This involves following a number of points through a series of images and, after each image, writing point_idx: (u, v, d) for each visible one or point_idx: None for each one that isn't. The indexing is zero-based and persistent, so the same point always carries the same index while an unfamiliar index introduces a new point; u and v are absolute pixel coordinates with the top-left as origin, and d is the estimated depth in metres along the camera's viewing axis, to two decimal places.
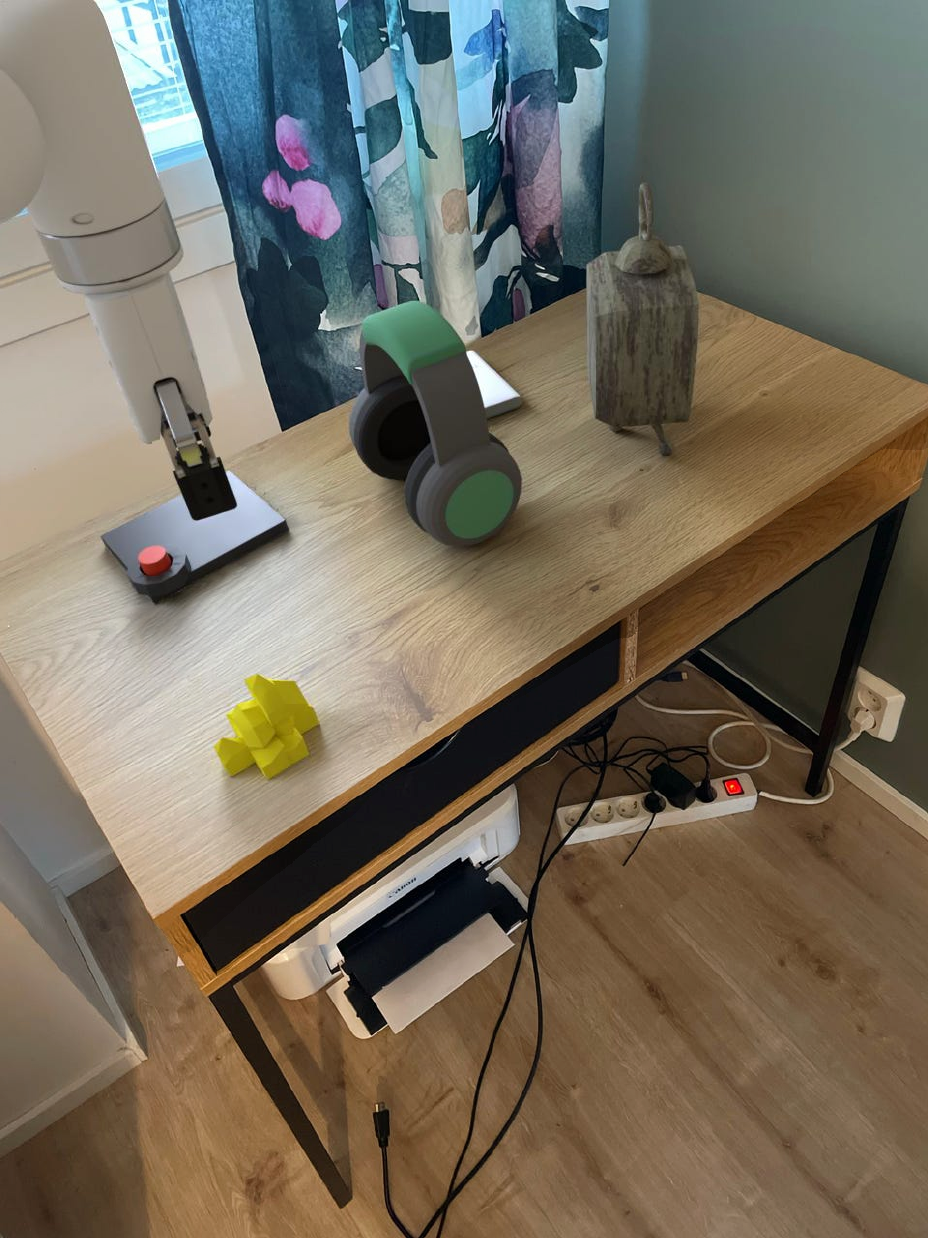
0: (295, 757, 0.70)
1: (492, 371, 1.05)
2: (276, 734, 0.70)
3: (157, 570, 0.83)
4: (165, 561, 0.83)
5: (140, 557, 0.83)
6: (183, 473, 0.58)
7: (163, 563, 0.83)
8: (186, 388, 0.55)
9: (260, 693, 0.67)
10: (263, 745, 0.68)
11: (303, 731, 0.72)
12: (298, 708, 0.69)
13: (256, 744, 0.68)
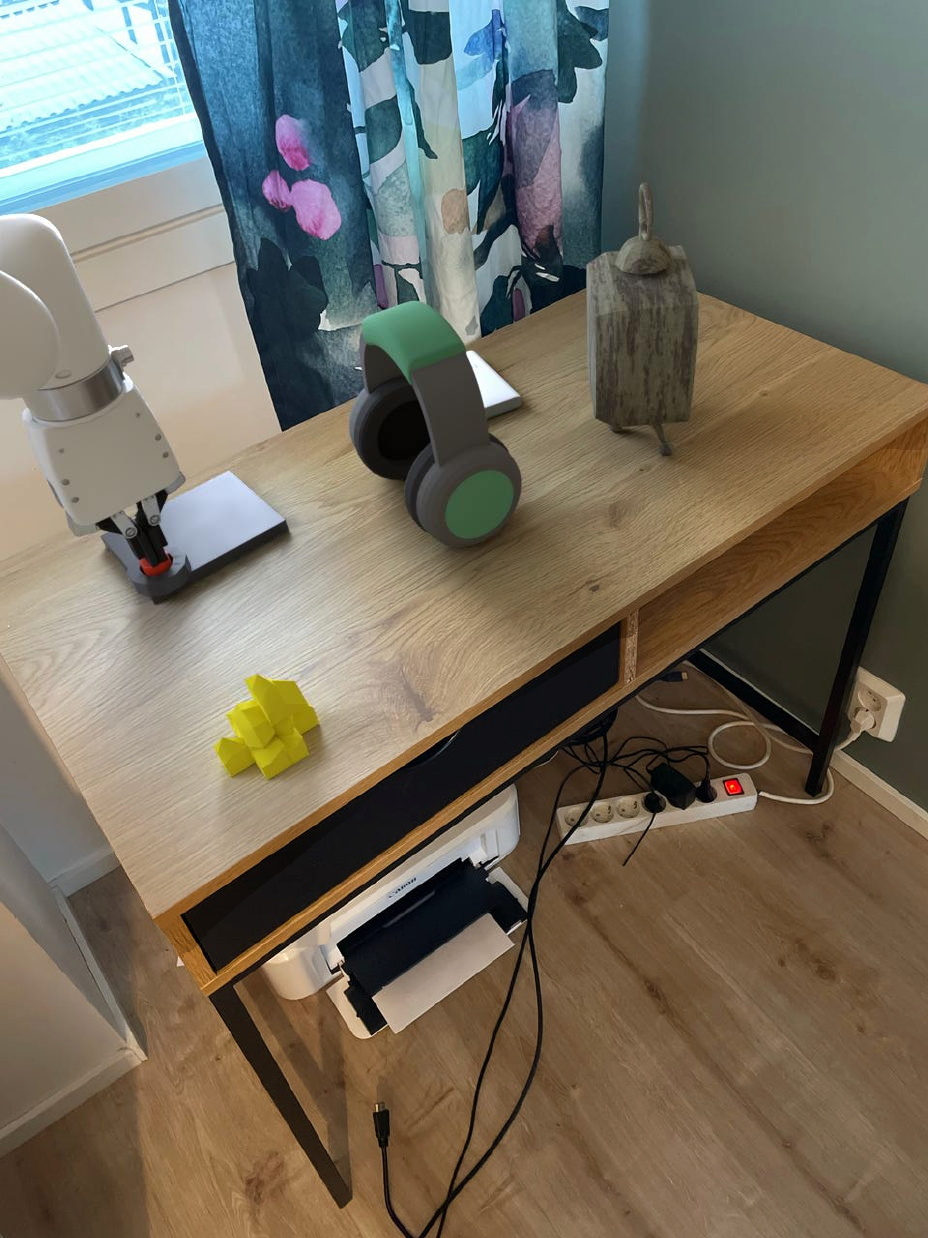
0: (295, 757, 0.70)
1: (492, 371, 1.05)
2: (276, 734, 0.70)
3: None
4: (167, 565, 0.84)
5: (142, 561, 0.83)
6: None
7: (165, 566, 0.83)
8: (58, 496, 0.73)
9: (260, 693, 0.67)
10: (263, 745, 0.68)
11: (303, 731, 0.72)
12: (298, 708, 0.69)
13: (256, 744, 0.68)
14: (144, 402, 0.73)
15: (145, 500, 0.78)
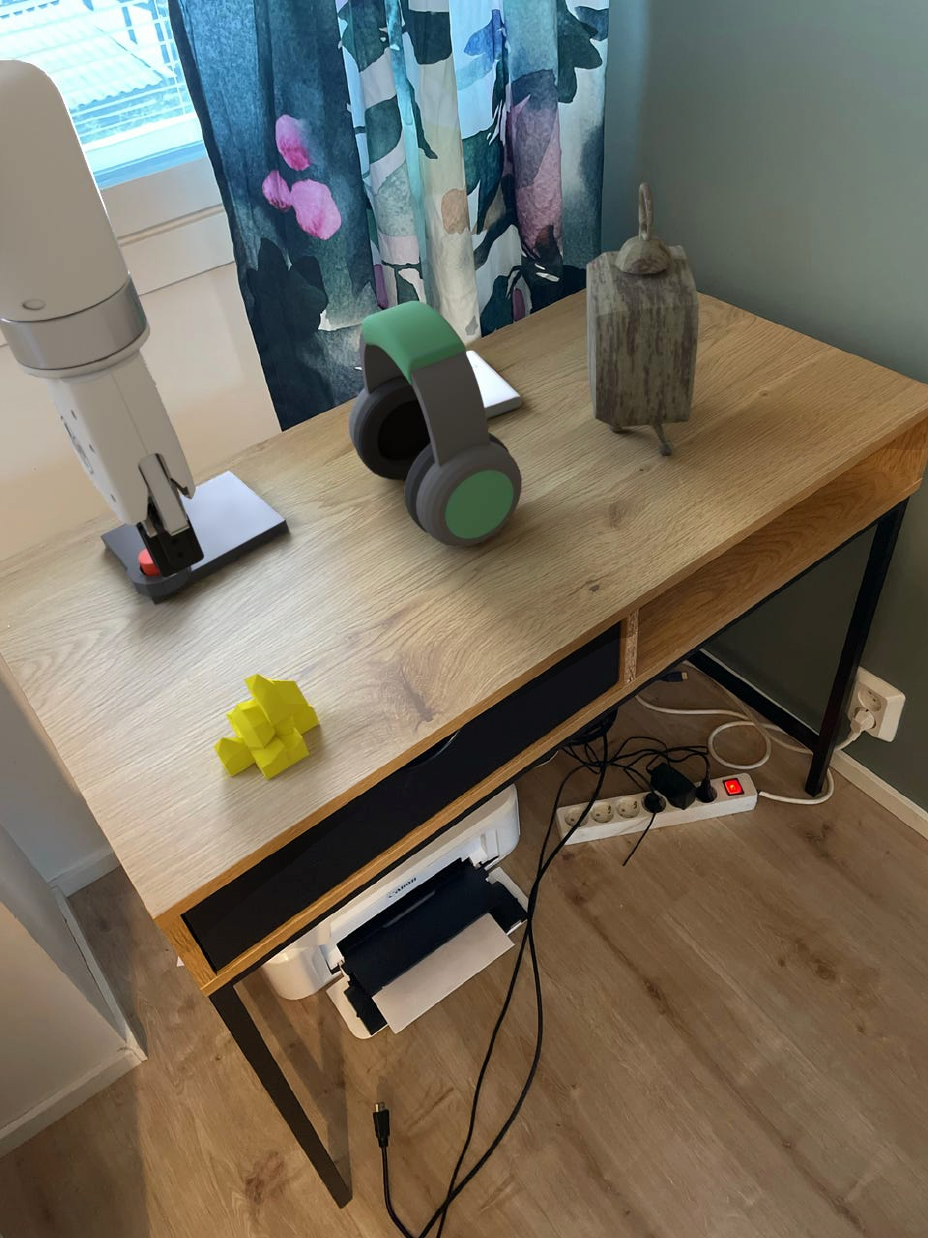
0: (295, 757, 0.70)
1: (492, 371, 1.05)
2: (276, 734, 0.70)
3: (157, 570, 0.83)
4: None
5: (140, 557, 0.83)
6: (155, 532, 0.59)
7: None
8: (171, 462, 0.53)
9: (260, 693, 0.67)
10: (263, 745, 0.68)
11: (303, 731, 0.72)
12: (298, 708, 0.69)
13: (256, 744, 0.68)
14: None
15: None
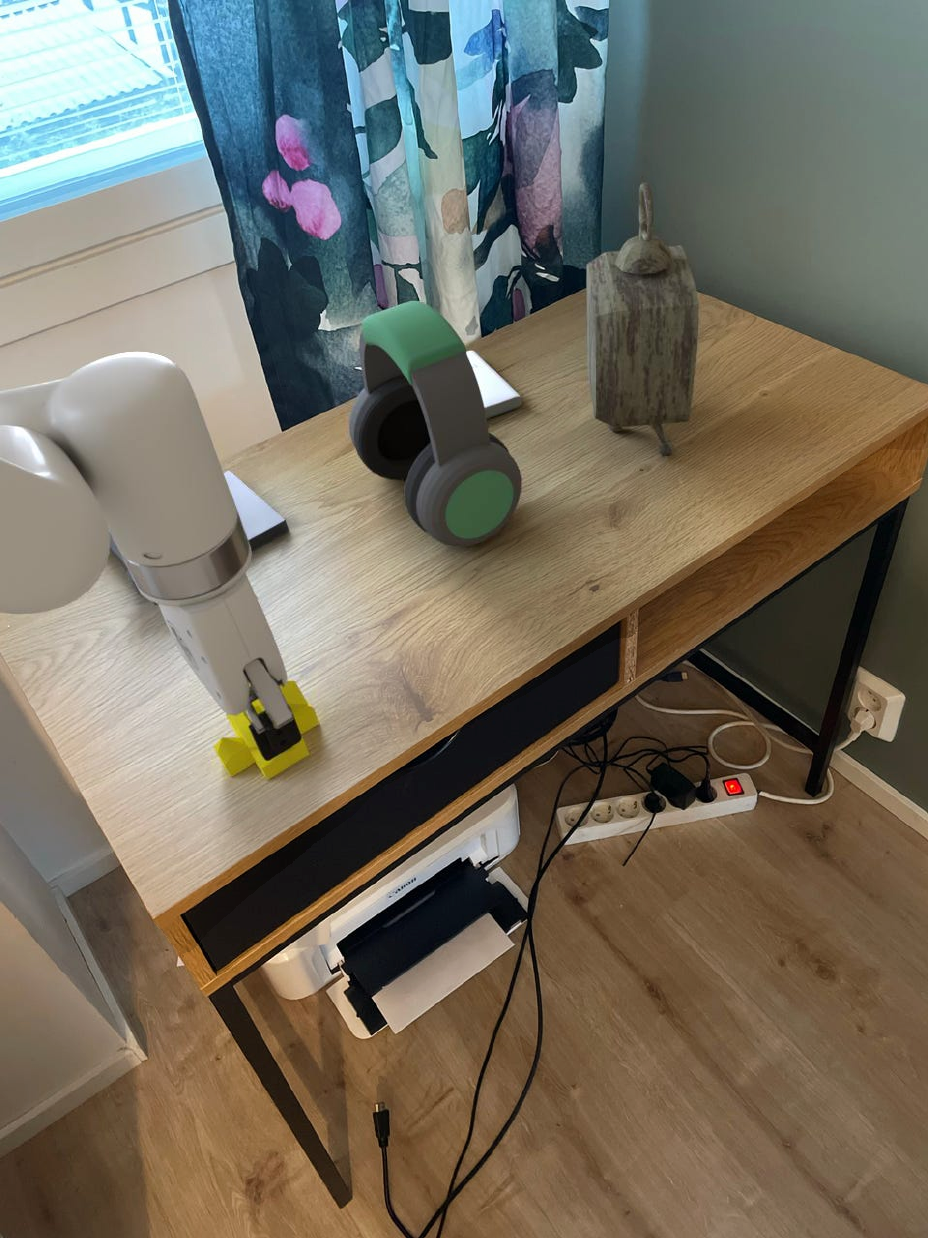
0: (295, 757, 0.70)
1: (492, 371, 1.05)
2: None
3: None
4: None
5: None
6: (264, 729, 0.63)
7: None
8: (270, 663, 0.60)
9: None
10: None
11: (303, 731, 0.72)
12: (298, 708, 0.69)
13: (256, 744, 0.68)
14: None
15: None
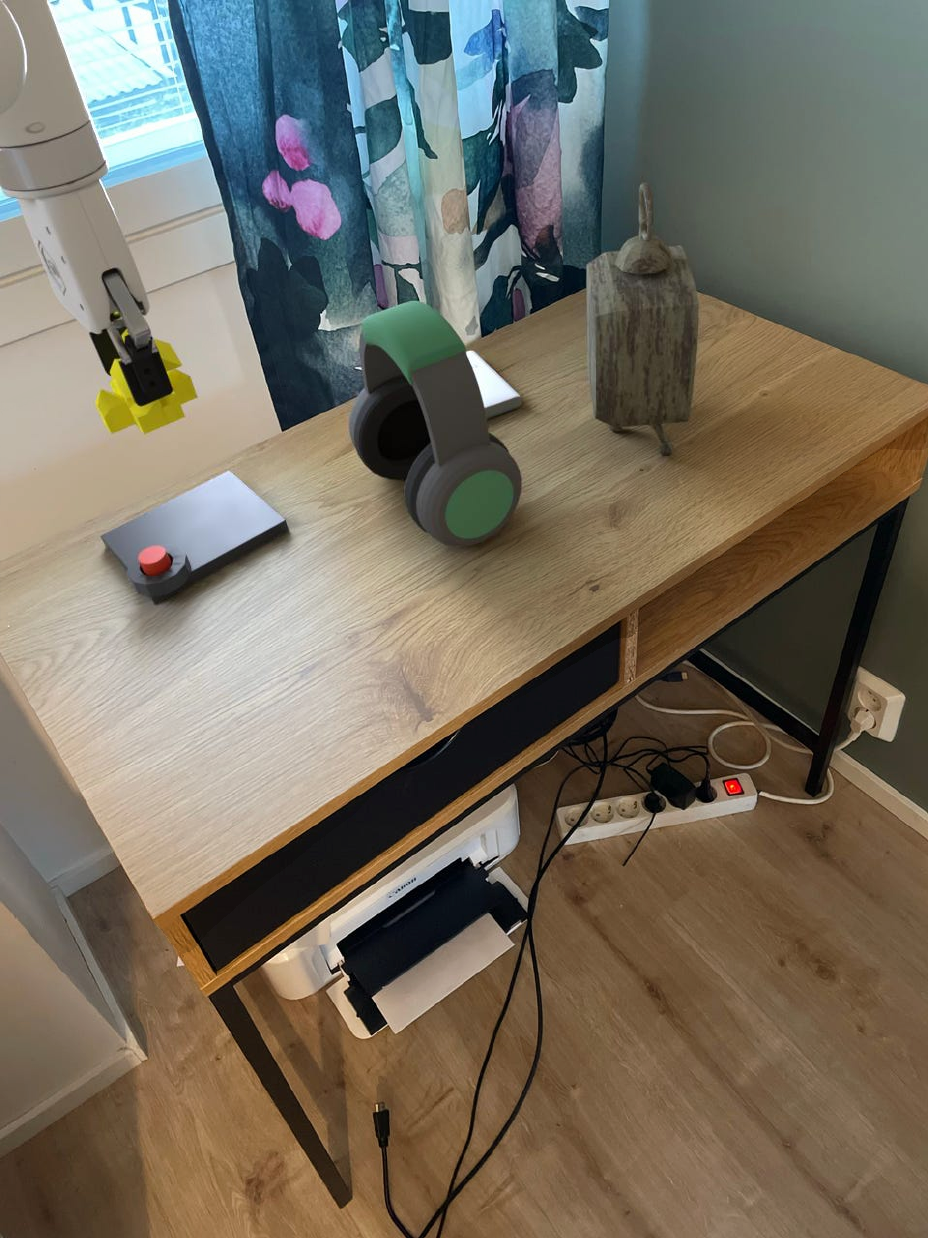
0: (170, 416, 0.76)
1: (492, 371, 1.05)
2: None
3: (157, 570, 0.83)
4: (165, 561, 0.83)
5: (140, 557, 0.83)
6: (130, 358, 0.69)
7: (163, 563, 0.83)
8: (128, 277, 0.66)
9: None
10: None
11: (182, 401, 0.78)
12: (172, 367, 0.75)
13: None
14: None
15: None
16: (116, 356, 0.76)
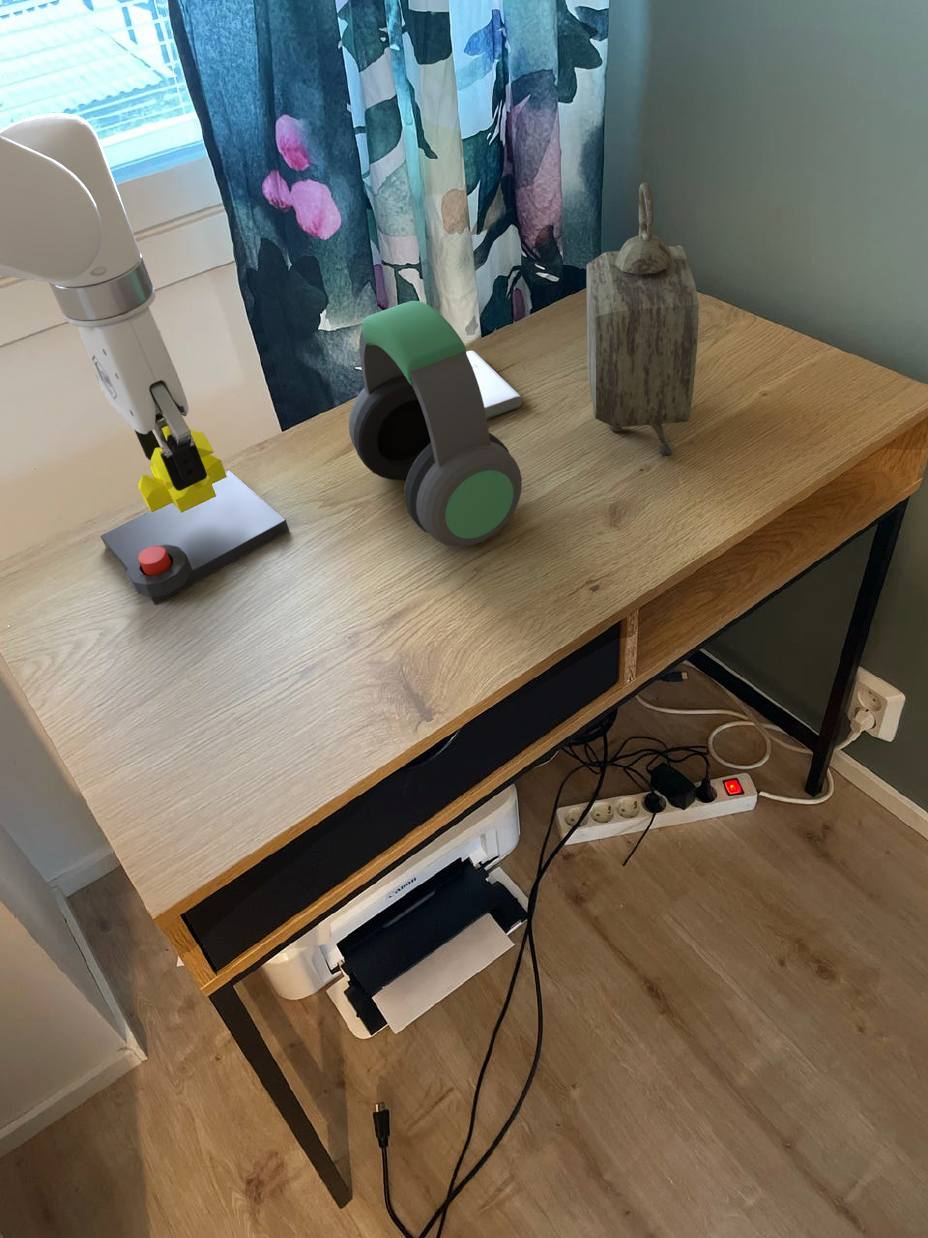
0: (204, 496, 0.86)
1: (492, 371, 1.05)
2: None
3: (157, 570, 0.83)
4: (165, 561, 0.83)
5: (140, 557, 0.83)
6: (171, 453, 0.80)
7: (163, 563, 0.83)
8: (171, 387, 0.76)
9: None
10: None
11: (213, 481, 0.88)
12: (206, 453, 0.85)
13: (170, 479, 0.84)
14: None
15: None
16: (155, 443, 0.86)
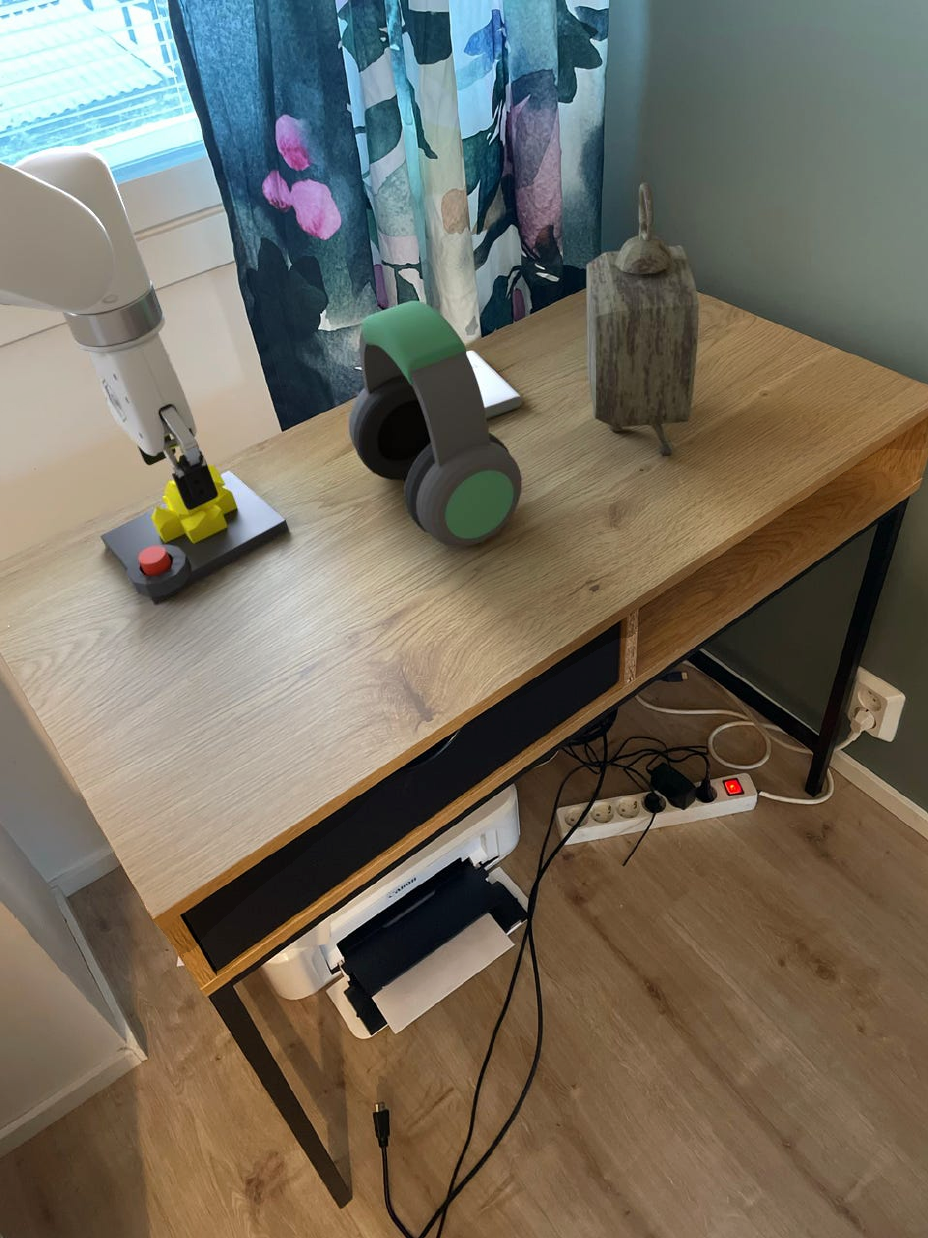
0: (215, 527, 0.89)
1: (492, 371, 1.05)
2: (201, 509, 0.89)
3: (157, 570, 0.83)
4: (165, 561, 0.83)
5: (140, 557, 0.83)
6: (183, 473, 0.80)
7: (163, 563, 0.83)
8: (180, 410, 0.77)
9: None
10: (189, 512, 0.87)
11: (224, 512, 0.91)
12: (217, 486, 0.88)
13: (183, 511, 0.87)
14: None
15: None
16: None
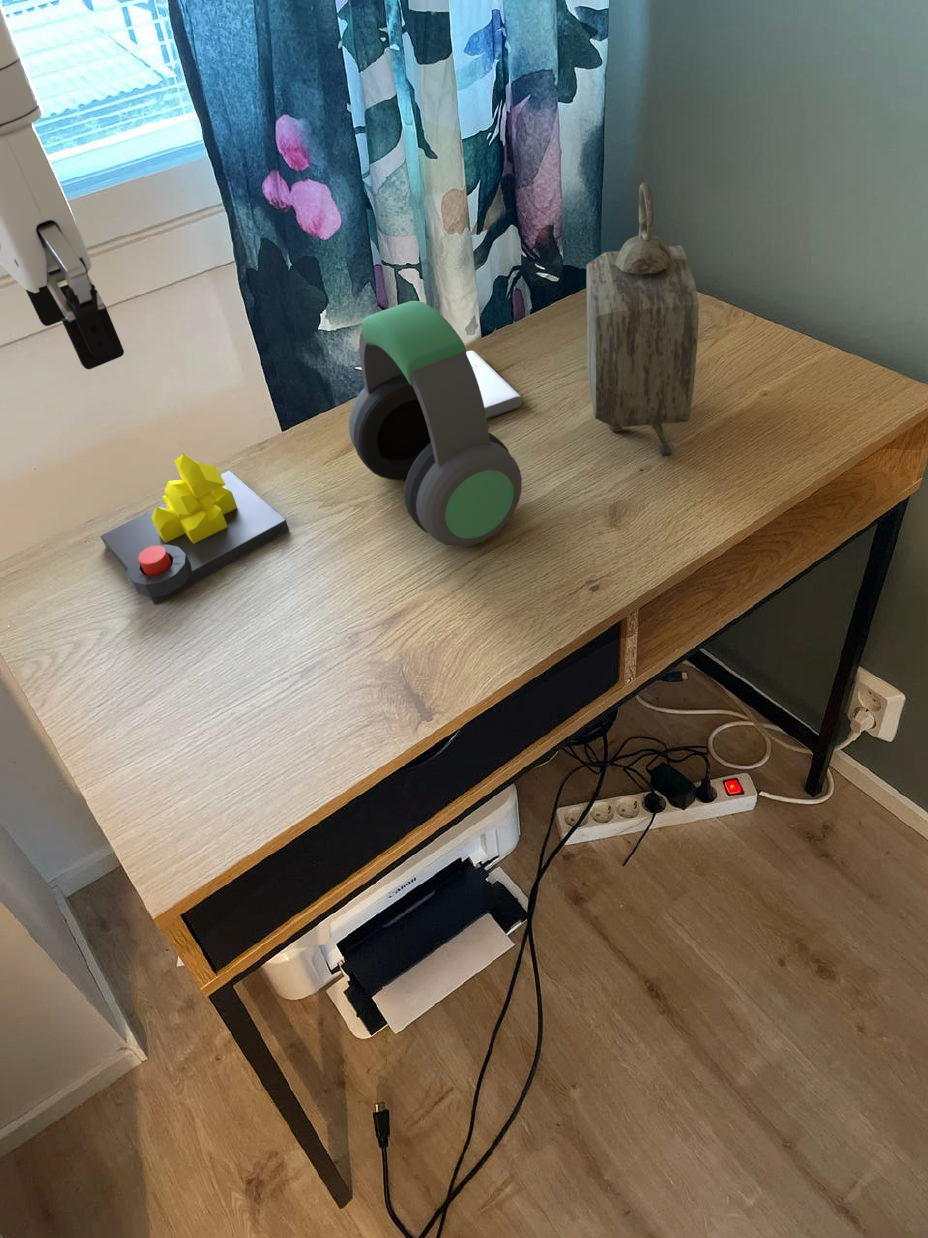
0: (215, 527, 0.89)
1: (492, 371, 1.05)
2: (201, 509, 0.89)
3: (157, 570, 0.83)
4: (165, 561, 0.83)
5: (140, 557, 0.83)
6: (73, 315, 0.64)
7: (163, 563, 0.83)
8: (66, 231, 0.61)
9: (186, 470, 0.86)
10: (189, 512, 0.87)
11: (224, 512, 0.91)
12: (217, 486, 0.88)
13: (183, 511, 0.87)
14: None
15: None
16: (51, 304, 0.72)
